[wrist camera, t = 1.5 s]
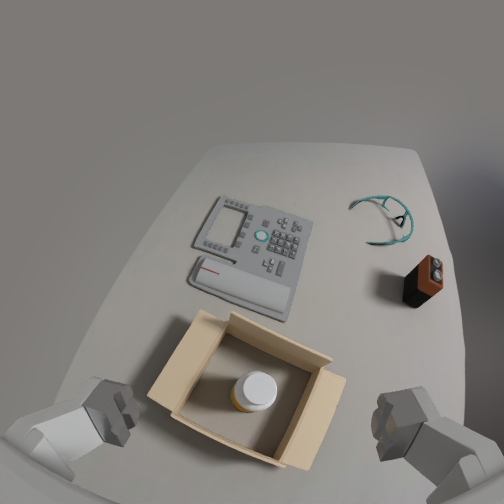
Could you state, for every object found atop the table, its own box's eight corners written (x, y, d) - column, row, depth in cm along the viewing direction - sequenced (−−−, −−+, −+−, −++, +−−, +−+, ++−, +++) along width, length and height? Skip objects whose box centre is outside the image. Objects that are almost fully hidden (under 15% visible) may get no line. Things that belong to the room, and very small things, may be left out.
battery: (401, 302, 51) (430, 277, 43) (404, 276, 55) (430, 250, 46) (417, 309, 50) (446, 286, 42) (419, 284, 54) (445, 259, 46)
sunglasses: (413, 245, 61) (423, 233, 57) (366, 255, 59) (375, 242, 54) (389, 203, 68) (396, 190, 64) (342, 207, 66) (348, 193, 62)
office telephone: (289, 319, 44) (173, 277, 45) (285, 325, 46) (174, 284, 47) (315, 217, 57) (224, 186, 58) (311, 225, 59) (223, 195, 60)
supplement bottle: (229, 378, 39) (235, 366, 31) (265, 378, 39) (281, 365, 31) (230, 413, 35) (237, 411, 28) (267, 412, 36) (284, 408, 28)
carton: (298, 469, 31) (317, 478, 25) (150, 400, 34) (137, 395, 28) (336, 380, 40) (360, 370, 34) (202, 316, 44) (202, 294, 37)
